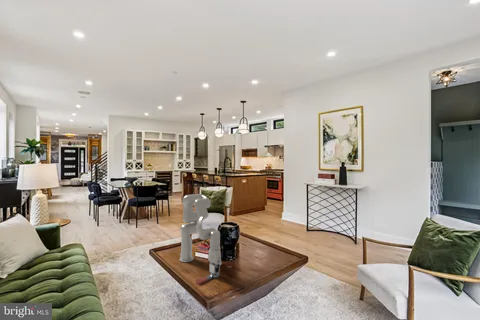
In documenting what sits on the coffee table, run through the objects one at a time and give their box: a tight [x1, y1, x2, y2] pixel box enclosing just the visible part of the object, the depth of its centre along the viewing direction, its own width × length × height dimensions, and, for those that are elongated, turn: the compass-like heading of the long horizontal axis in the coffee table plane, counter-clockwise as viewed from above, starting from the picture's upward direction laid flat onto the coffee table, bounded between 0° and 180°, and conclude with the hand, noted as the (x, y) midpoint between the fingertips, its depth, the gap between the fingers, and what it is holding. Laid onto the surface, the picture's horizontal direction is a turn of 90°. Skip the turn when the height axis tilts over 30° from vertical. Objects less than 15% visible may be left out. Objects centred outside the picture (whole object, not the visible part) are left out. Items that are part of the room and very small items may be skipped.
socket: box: [209, 262, 221, 274], centre depth 190 cm, size 5×5×6 cm
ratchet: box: [195, 271, 220, 286], centre depth 186 cm, size 7×20×8 cm, turn 137°
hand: (214, 270), depth 190 cm, fingers closed on socket, 5 cm apart
